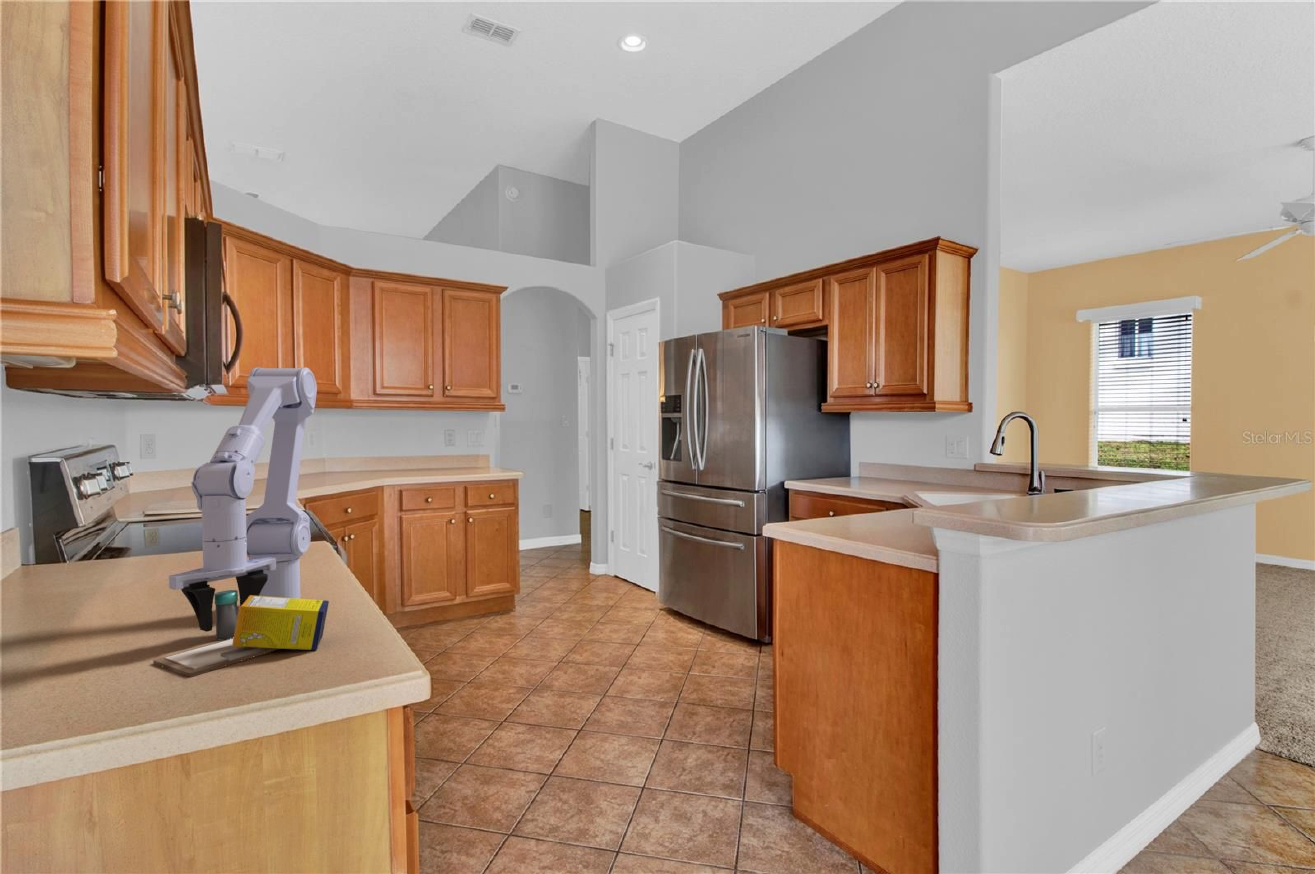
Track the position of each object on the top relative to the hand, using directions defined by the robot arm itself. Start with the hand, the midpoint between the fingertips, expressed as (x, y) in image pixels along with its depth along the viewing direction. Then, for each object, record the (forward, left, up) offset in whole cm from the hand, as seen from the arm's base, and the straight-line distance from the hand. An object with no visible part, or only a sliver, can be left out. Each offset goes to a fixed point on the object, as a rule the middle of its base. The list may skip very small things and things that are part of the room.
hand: (226, 624), depth 99 cm
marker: (0, 0, -2) cm, 2 cm away
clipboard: (+8, -3, -2) cm, 9 cm away
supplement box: (+17, +5, +1) cm, 18 cm away
